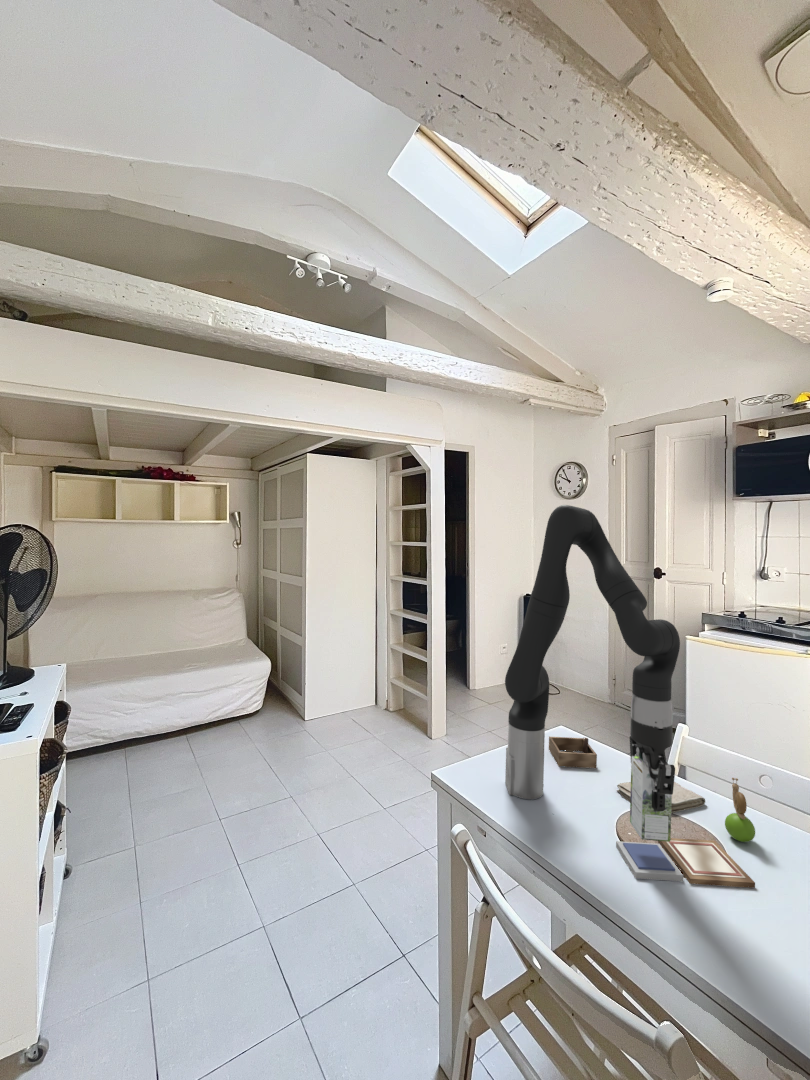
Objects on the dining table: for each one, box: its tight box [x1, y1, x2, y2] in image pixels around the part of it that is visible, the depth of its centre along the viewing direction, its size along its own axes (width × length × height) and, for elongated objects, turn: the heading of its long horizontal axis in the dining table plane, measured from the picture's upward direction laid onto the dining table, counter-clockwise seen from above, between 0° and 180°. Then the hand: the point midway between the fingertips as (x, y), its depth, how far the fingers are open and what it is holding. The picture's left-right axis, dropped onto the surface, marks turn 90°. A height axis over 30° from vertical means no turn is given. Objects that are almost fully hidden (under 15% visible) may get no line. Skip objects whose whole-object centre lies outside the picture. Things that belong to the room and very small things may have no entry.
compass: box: [562, 737, 589, 753], centre depth 134 cm, size 8×8×7 cm
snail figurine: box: [724, 777, 756, 843], centre depth 100 cm, size 5×6×12 cm
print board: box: [657, 837, 756, 889], centre depth 91 cm, size 12×12×1 cm
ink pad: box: [615, 840, 684, 882], centre depth 91 cm, size 9×9×2 cm
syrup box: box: [629, 755, 672, 842], centre depth 91 cm, size 6×6×14 cm
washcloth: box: [616, 781, 706, 814], centre depth 115 cm, size 12×18×3 cm, turn 109°
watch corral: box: [548, 736, 598, 769], centre depth 135 cm, size 11×11×4 cm
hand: (650, 800), depth 91 cm, fingers closed on syrup box, 6 cm apart
